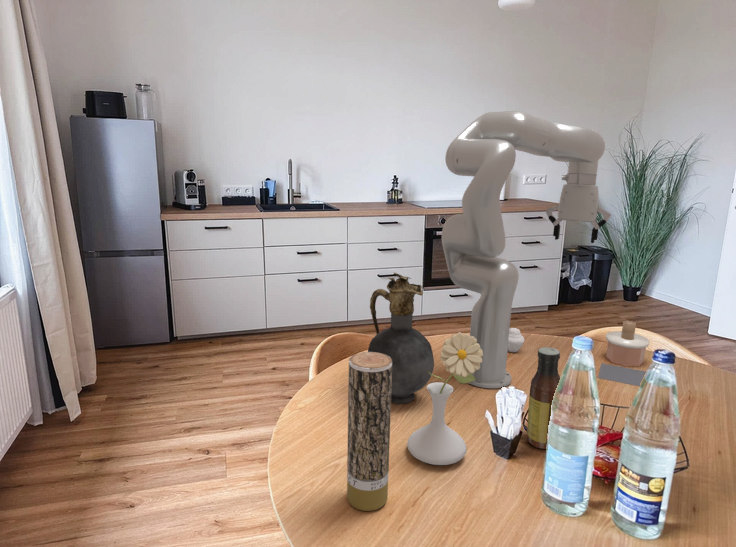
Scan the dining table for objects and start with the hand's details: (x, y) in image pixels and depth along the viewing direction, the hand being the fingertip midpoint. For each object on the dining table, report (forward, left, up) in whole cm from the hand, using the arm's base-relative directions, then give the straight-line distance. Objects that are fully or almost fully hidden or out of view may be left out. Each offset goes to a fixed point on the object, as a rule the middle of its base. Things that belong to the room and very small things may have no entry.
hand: (574, 240), depth 151 cm
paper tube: (-58, -73, -32) cm, 99 cm away
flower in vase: (-44, -59, -32) cm, 80 cm away
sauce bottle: (-23, -54, -32) cm, 67 cm away
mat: (+8, -21, -32) cm, 39 cm away
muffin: (-16, -4, -32) cm, 36 cm away
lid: (+14, -10, -26) cm, 31 cm away
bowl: (+14, -10, -32) cm, 37 cm away
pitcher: (-52, -34, -32) cm, 70 cm away
